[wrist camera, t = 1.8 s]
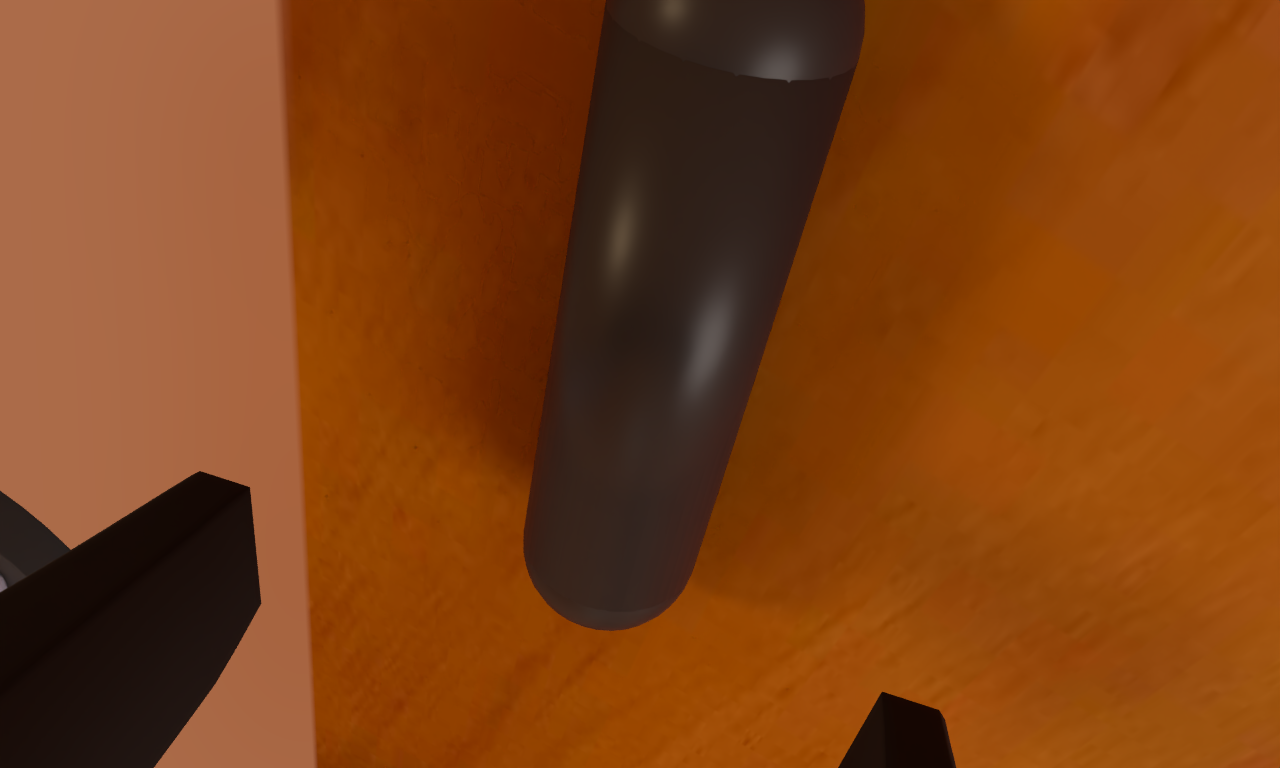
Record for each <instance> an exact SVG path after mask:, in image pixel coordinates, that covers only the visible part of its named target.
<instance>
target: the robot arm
mask: <svg viewBox="0 0 1280 768" xmlns="http://www.w3.org/2000/svg"><path fill="white" fill-rule="evenodd" d="M260 605H261V597H260V587H259V576H258V566H257V556H256V546H255V535H254V524H253V515H252V504H251V494H250V487H248V486H244V485H241V484H238V483H235V482H232V481H229V480H226V479H223V478H220V477H216V476H214V475H210V474H207V473H204V472H201V471H199V472H197V473H195V474H193V475H191V476H190V477H188V478H186V479H185V480H183V481H182V482H180V483H178V484H177V485H175V486H174V487H172V488H170V489H168V490H167V491H165V492H164V493H162V494H161V495H159V496H157V497H156V498H154V499H152V500H151V501H149V502H148V503H146V504H145V505H143V506H141V507H140V508H138V509H136V510H135V511H133V512H132V513H130V514H129V515H127V516H125V517H124V518H122V519H120V520H119V521H117V522H116V523H114V524H112V525H111V526H109V527H108V528H106V529H105V530H103V531H101V532H99V533H98V534H96V535H95V536H93V537H91V538H90V539H88V540H86V541H85V542H83V543H82V544H80V545H78V546H77V547H75V548H73V549H72V550H70V551H69V552H67V553H65V554H64V555H62V556H60V557H59V558H57V559H55V560H54V561H52V562H50V563H48V564H47V565H45V566H43V567H42V568H40V569H38V570H37V571H35V572H33V573H32V574H30V575H28V576H27V577H25V578H23V579H21V580H20V581H18V582H16V583H15V584H13V585H11V586H10V587H7V584H6V581H5V579H4V578H3V576H2V575H1V574H0V768H154V767H155V765H156V764H157V763H158V761H159V760H160V759H161V757H162V756H163V754H164V753H165V752H166V750H167V749H168V748H169V746H170V745H171V744H172V742H173V741H174V740H175V738H176V737H177V736H178V734H179V733H180V731H181V730H182V729H183V727H184V726H185V725H186V723H187V722H188V721H189V719H190V718H191V717H192V715H193V714H194V712H195V711H196V710H197V708H198V707H199V706H200V704H201V703H202V701H203V700H204V699H205V697H206V696H207V694H208V693H209V692H210V690H211V689H212V688H213V686H214V685H215V683H216V682H217V680H218V678H219V677H220V675H221V673H222V671H223V670H224V668H225V666H226V665H227V663H228V661H229V660H230V658H231V656H232V655H233V653H234V651H235V649H236V648H237V646H238V644H239V642H240V641H241V639H242V637H243V635H244V633H245V632H246V630H247V628H248V626H249V624H250V623H251V621H252V619H253V617H254V615H255V614H256V612H257V610H258V608H259V606H260ZM838 768H956V765H955V761H954V757H953V753H952V748H951V744H950V740H949V736H948V731H947V727H946V722H945V719H944V717H943V716H942V714H941V712H940V711H939V710H937V709H934V708H931V707H928V706H925V705H922V704H919V703H916V702H912V701H909V700H906V699H903V698H900V697H897V696H894V695H891V694H888V693H885V692H882V693H881V694H880V696H879V698H878V700H877V701H876V703H875V705H874V706H873V708H872V710H871V712H870V713H869V715H868V717H867V719H866V720H865V722H864V724H863V726H862V727H861V729H860V731H859V733H858V734H857V736H856V738H855V739H854V741H853V743H852V745H851V746H850V748H849V750H848V752H847V753H846V755H845V757H844V759H843V760H842V762H841V764H840V766H839V767H838Z"/></svg>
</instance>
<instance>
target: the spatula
mask: <svg viewBox="0 0 1280 768" xmlns="http://www.w3.org/2000/svg"><path fill="white" fill-rule="evenodd" d="M864 24H865V3H864V0H606V5H605V11H604V18H603V24H602V31H601V37H600V43H599V50H598V56H597V63H596V69H595V76H594V82H593V89H592V95H591V101H590V108H589V114H588V121H587V127H586V134H585V140H584V147H583V153H582V159H581V166H580V172H579V179H578V185H577V192H576V198H575V205H574V211H573V217H572V224H571V230H570V237H569V243H568V250H567V256H566V263H565V269H564V275H563V282H562V288H561V295H560V301H559V308H558V314H557V321H556V327H555V333H554V340H553V346H552V353H551V359H550V366H549V372H548V379H547V385H546V391H545V398H544V404H543V411H542V417H541V424H540V430H539V437H538V443H537V450H536V456H535V462H534V469H533V475H532V482H531V488H530V495H529V501H528V508H527V514H526V520H525V527H524V557H525V562H526V566H527V569H528V573H529V576H530V578H531V580H532V582H533V584H534V586H535V588H536V589H537V591H538V592H539V593H540V595H541V596H542V597H543V599H544V600H545V601H546V603H547V604H548V605H549V606H550V607H551V608H553V609H554V610H555V611H556V612H557V613H558V614H560V615H561V616H563V617H564V618H566V619H568V620H569V621H571V622H574V623H576V624H579V625H581V626H584V627H588V628H592V629H596V630H609V631H614V630H624V629H629V628H632V627H636V626H639V625H641V624H643V623H645V622H647V621H649V620H651V619H653V618H655V617H657V616H659V615H660V614H661V613H663V612H664V611H665V610H666V609H667V608H669V607H670V606H671V604H672V603H673V602H674V601H675V600H676V599H677V598H678V596H679V595H680V594H681V593H682V591H683V590H684V588H685V586H686V584H687V582H688V580H689V578H690V576H691V574H692V571H693V568H694V565H695V562H696V559H697V556H698V553H699V550H700V547H701V544H702V541H703V538H704V534H705V531H706V528H707V525H708V522H709V519H710V516H711V513H712V510H713V507H714V504H715V501H716V497H717V494H718V491H719V488H720V485H721V482H722V479H723V476H724V473H725V470H726V467H727V464H728V460H729V457H730V454H731V451H732V448H733V445H734V442H735V439H736V436H737V433H738V430H739V427H740V423H741V420H742V417H743V414H744V411H745V408H746V405H747V402H748V399H749V396H750V393H751V390H752V386H753V383H754V380H755V377H756V374H757V371H758V368H759V365H760V362H761V359H762V356H763V352H764V349H765V346H766V343H767V340H768V337H769V334H770V331H771V328H772V325H773V322H774V319H775V315H776V312H777V309H778V306H779V303H780V300H781V297H782V294H783V291H784V288H785V285H786V282H787V278H788V275H789V272H790V269H791V266H792V263H793V260H794V257H795V254H796V251H797V248H798V245H799V241H800V238H801V235H802V232H803V229H804V226H805V223H806V220H807V217H808V214H809V211H810V208H811V204H812V201H813V198H814V195H815V192H816V189H817V186H818V183H819V180H820V177H821V174H822V170H823V167H824V164H825V161H826V158H827V155H828V152H829V149H830V146H831V143H832V140H833V137H834V133H835V130H836V127H837V124H838V121H839V118H840V115H841V112H842V109H843V106H844V103H845V100H846V96H847V93H848V90H849V87H850V84H851V81H852V78H853V75H854V72H855V69H856V66H857V63H858V59H859V55H860V51H861V46H862V41H863V37H864Z"/></svg>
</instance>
